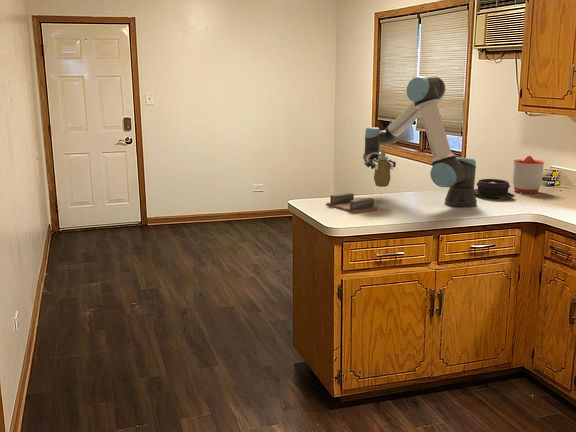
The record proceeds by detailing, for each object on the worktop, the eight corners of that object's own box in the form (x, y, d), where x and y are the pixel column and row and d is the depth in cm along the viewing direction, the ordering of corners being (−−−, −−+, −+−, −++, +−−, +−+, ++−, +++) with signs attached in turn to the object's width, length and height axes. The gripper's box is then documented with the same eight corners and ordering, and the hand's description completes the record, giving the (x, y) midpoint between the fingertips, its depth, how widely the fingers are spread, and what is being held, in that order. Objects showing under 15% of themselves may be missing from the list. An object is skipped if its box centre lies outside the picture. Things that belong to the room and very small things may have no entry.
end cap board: (378, 210, 295) (378, 199, 294) (355, 213, 288) (355, 202, 287) (348, 201, 313) (348, 192, 312) (326, 204, 306) (326, 194, 305)
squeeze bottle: (371, 184, 307) (373, 147, 303) (388, 184, 307) (389, 147, 304) (375, 187, 299) (376, 149, 295) (392, 187, 300) (393, 149, 296)
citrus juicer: (538, 189, 352) (542, 153, 348) (543, 195, 336) (547, 157, 331) (509, 188, 355) (512, 152, 351) (512, 193, 339) (515, 156, 335)
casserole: (523, 199, 323) (525, 183, 321) (495, 202, 316) (497, 186, 314) (488, 191, 345) (490, 176, 343) (462, 194, 338) (463, 178, 336)
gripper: (393, 167, 320) (404, 174, 297) (356, 167, 319) (364, 174, 296) (394, 152, 318) (405, 158, 296) (356, 153, 317) (364, 158, 295)
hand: (384, 166), depth 296 cm, fingers closed on squeeze bottle, 6 cm apart
